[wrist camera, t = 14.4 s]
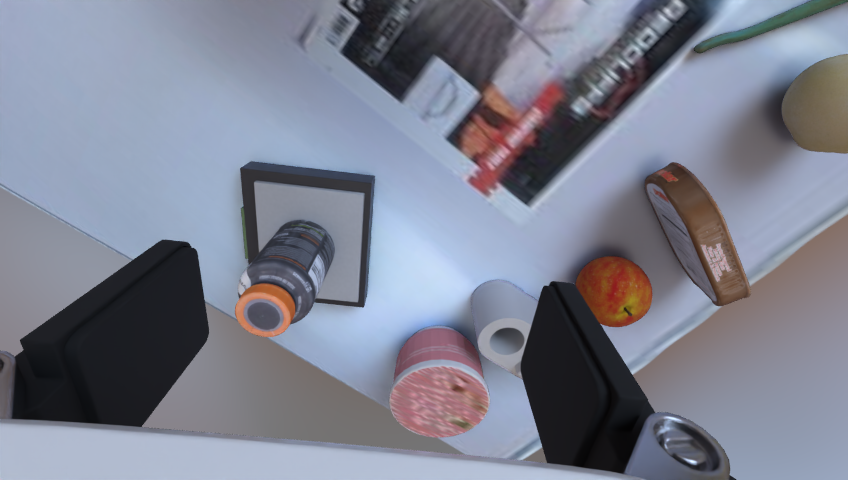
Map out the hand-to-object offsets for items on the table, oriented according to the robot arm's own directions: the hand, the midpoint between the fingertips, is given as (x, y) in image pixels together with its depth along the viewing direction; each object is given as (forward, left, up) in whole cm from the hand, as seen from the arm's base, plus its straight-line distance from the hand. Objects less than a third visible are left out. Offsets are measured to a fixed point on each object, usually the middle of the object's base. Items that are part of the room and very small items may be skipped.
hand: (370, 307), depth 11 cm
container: (+26, +6, -28) cm, 39 cm away
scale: (+12, -9, -28) cm, 32 cm away
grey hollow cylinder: (+21, +17, -28) cm, 39 cm away
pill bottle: (+12, -9, -26) cm, 30 cm away
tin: (+6, +27, -28) cm, 40 cm away
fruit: (+13, +22, -28) cm, 38 cm away
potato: (-7, +34, -28) cm, 45 cm away
